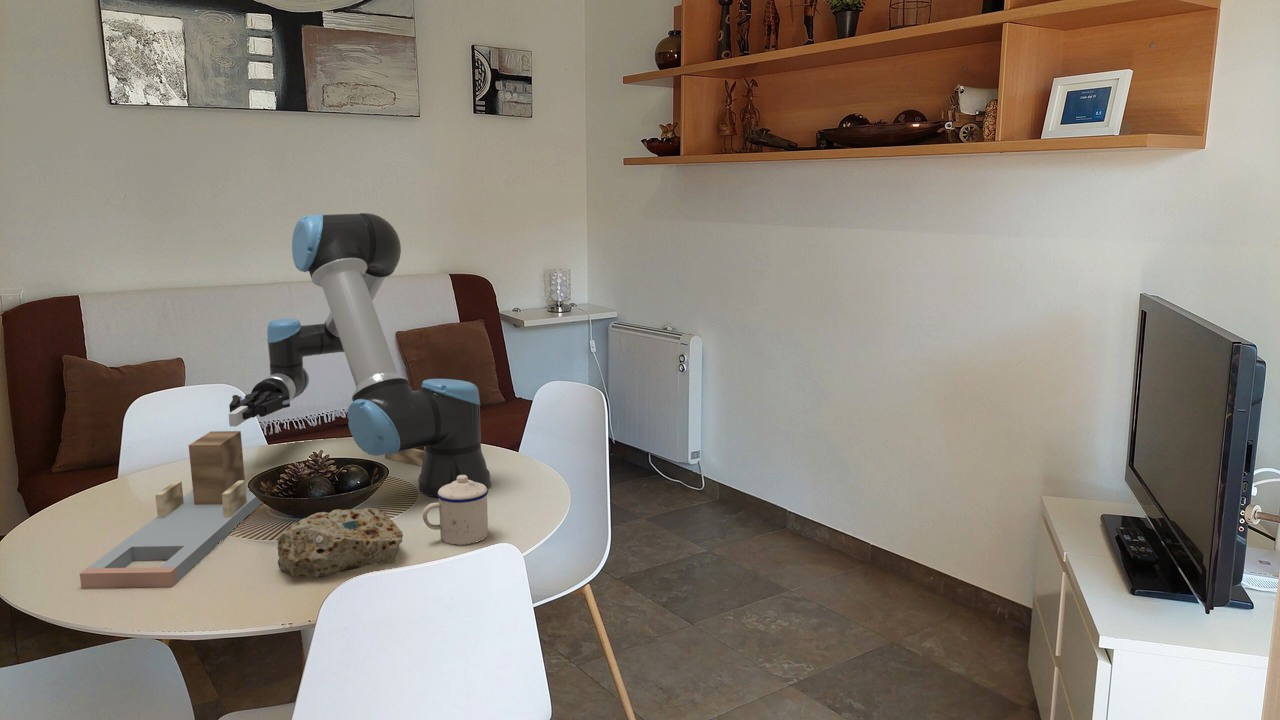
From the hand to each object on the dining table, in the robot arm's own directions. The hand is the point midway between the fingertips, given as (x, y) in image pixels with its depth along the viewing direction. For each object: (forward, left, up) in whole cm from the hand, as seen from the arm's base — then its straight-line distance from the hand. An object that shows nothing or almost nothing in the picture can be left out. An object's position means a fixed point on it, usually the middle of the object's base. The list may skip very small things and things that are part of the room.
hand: (232, 420), depth 192 cm
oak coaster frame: (-14, -41, -16) cm, 46 cm away
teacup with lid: (-57, -6, -16) cm, 60 cm away
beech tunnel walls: (-11, +14, -13) cm, 22 cm away
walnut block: (-6, +8, -13) cm, 16 cm away
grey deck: (-15, +21, -16) cm, 30 cm away
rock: (-48, +13, -16) cm, 52 cm away
